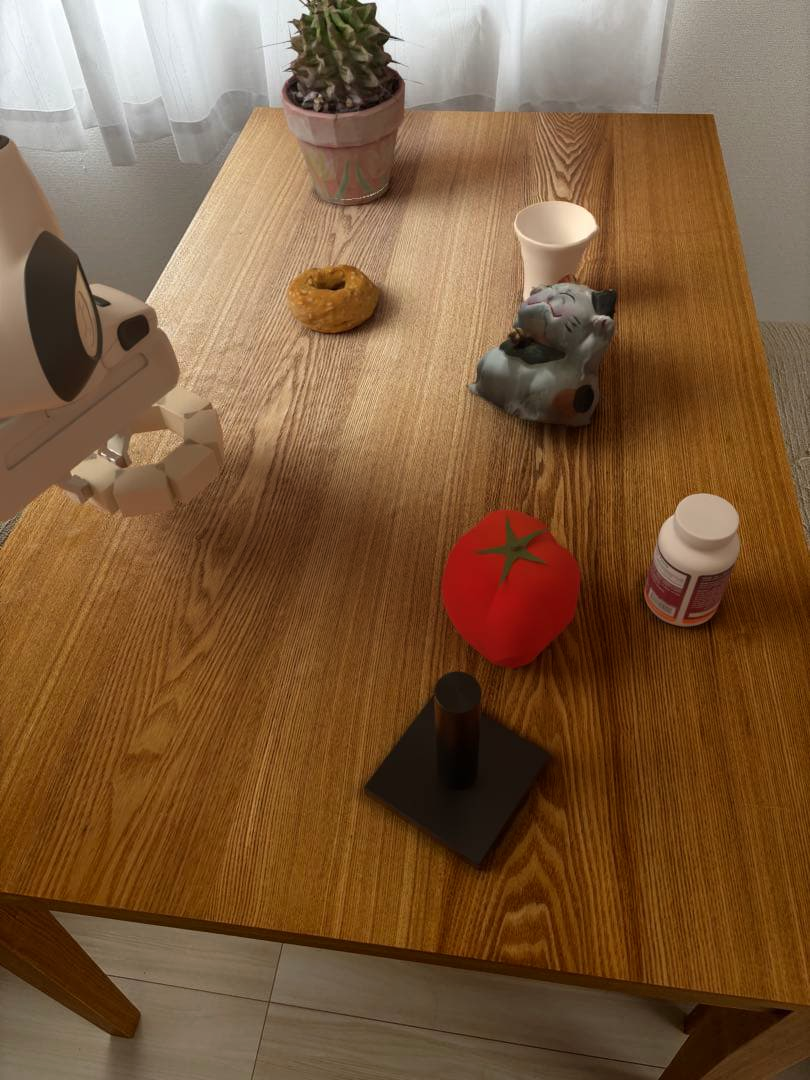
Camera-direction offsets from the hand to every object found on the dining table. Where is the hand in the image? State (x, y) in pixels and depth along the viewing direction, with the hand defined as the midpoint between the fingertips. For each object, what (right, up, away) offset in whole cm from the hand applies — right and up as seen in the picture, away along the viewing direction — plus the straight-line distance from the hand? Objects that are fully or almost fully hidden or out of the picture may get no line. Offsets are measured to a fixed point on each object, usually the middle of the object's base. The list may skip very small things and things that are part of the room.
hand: (101, 481), depth 75 cm
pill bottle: (+50, -10, -1) cm, 51 cm away
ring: (+3, +2, +4) cm, 5 cm away
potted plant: (+20, +43, +43) cm, 64 cm away
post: (+30, -23, -10) cm, 39 cm away
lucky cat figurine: (+40, +10, +16) cm, 44 cm away
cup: (+43, +23, +26) cm, 55 cm away
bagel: (+18, +22, +27) cm, 39 cm away
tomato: (+35, -12, -1) cm, 37 cm away
